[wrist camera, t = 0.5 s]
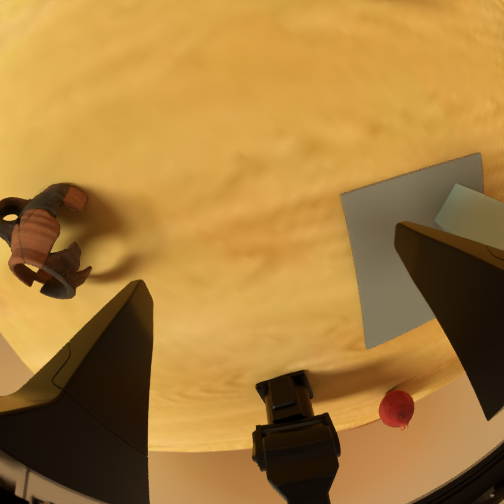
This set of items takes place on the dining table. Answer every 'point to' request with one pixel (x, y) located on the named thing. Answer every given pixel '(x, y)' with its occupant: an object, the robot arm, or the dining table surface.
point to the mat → (382, 241)
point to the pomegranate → (396, 409)
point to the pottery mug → (43, 240)
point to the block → (473, 217)
